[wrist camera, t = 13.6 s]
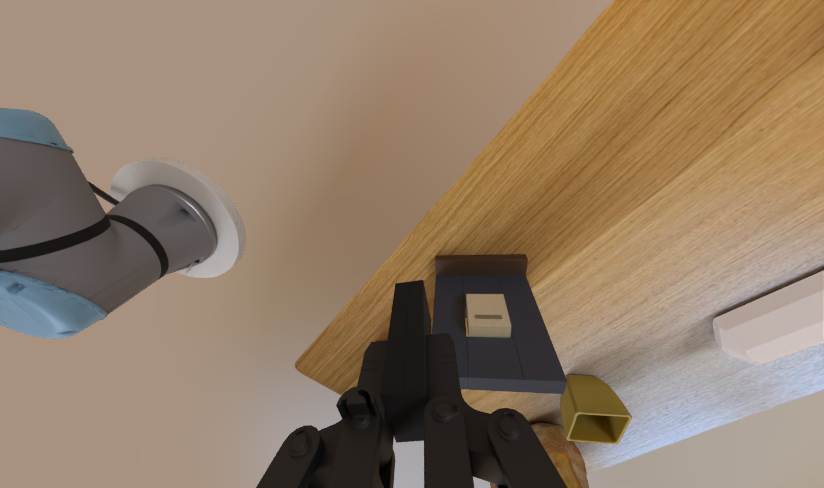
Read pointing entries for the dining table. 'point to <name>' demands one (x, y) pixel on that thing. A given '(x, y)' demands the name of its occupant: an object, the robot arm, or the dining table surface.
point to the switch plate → (489, 356)
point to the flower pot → (592, 411)
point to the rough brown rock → (562, 454)
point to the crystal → (775, 323)
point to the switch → (487, 316)
